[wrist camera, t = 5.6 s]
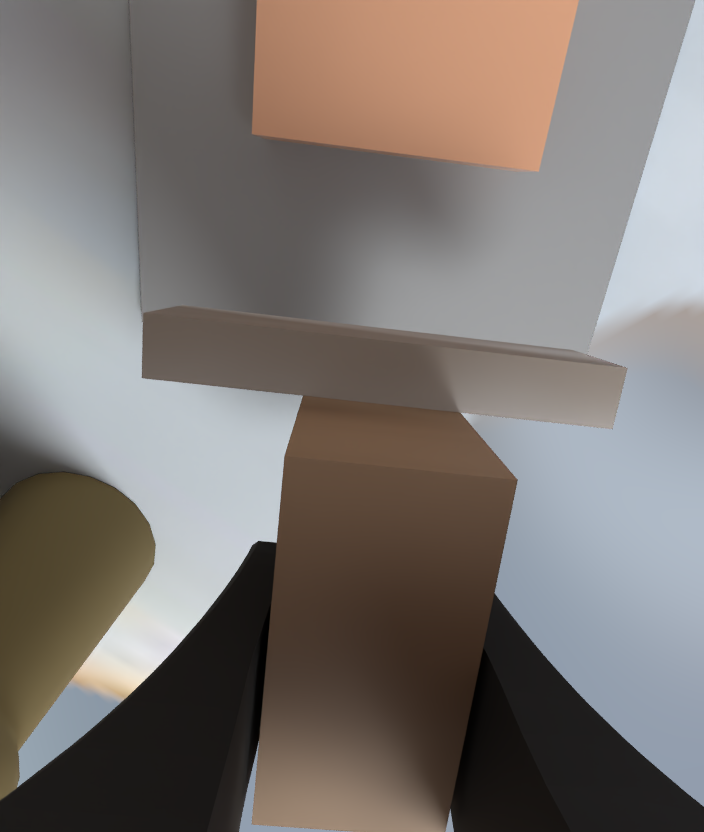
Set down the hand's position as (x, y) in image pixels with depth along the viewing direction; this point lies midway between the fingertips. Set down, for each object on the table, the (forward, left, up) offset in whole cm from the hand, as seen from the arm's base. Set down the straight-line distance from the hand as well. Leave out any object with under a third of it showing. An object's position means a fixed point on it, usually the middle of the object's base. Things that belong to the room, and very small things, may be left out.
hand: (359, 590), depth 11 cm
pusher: (0, 0, -3) cm, 3 cm away
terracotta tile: (0, -12, -8) cm, 14 cm away
